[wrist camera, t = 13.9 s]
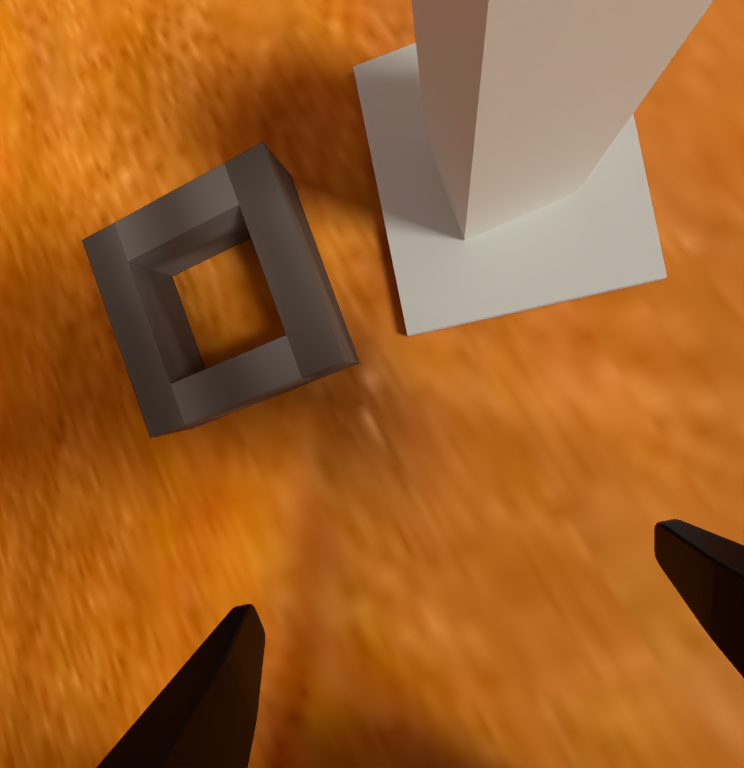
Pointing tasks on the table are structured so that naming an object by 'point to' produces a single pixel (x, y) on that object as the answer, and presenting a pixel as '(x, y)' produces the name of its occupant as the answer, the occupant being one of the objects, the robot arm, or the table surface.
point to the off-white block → (534, 92)
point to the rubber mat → (508, 241)
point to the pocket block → (194, 245)
